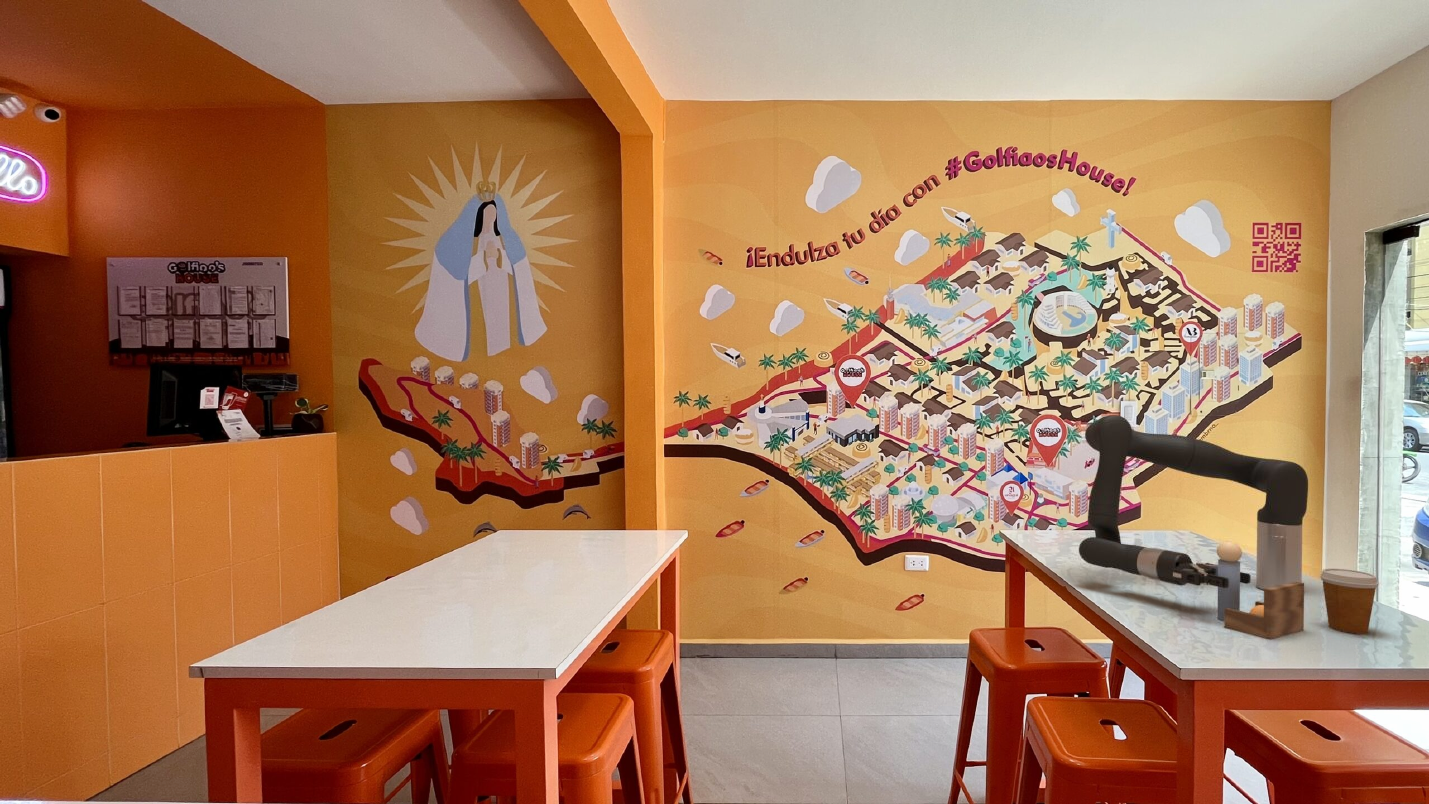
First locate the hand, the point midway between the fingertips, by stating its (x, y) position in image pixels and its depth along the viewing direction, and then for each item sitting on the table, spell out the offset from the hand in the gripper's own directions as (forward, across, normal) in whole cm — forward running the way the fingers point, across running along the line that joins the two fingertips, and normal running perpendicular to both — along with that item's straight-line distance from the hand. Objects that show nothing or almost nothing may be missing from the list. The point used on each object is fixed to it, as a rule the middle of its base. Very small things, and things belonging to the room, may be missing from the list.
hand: (1238, 581), depth 159 cm
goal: (+5, 0, +9) cm, 10 cm away
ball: (+5, 0, +6) cm, 8 cm away
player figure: (-2, 0, +9) cm, 9 cm away
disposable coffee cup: (+13, +16, +9) cm, 23 cm away
